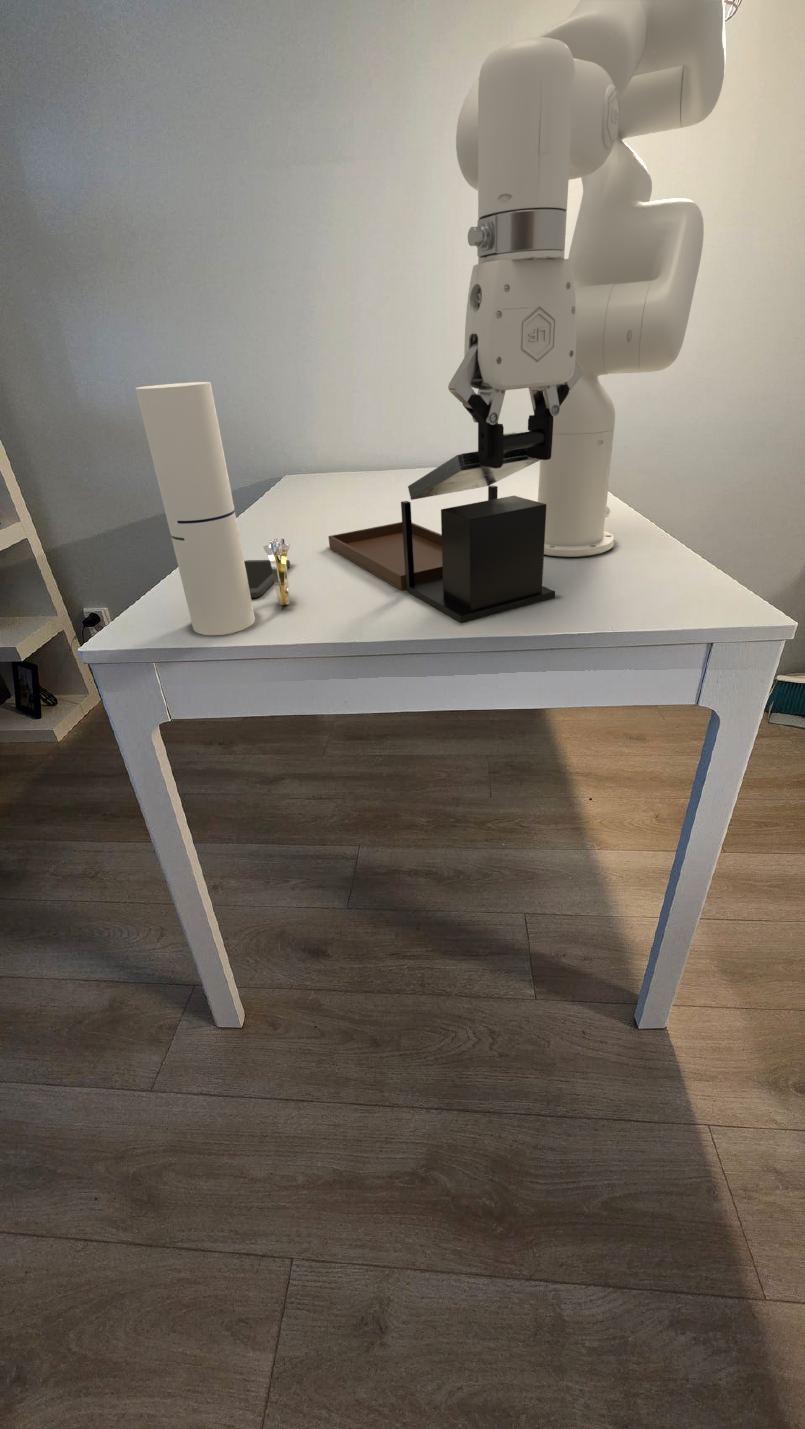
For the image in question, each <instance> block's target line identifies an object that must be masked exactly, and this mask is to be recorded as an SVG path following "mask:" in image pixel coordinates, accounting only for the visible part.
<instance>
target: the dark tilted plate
mask: <svg viewBox="0 0 805 1429" xmlns="http://www.w3.org/2000/svg"><path fill="white" fill-rule="evenodd" d="M544 440H545V434H544V431H543V430H542V429H533V430H528V429H526V430H520V431H513V432H506V433H504V435H503V465H502V467H501V468H496V469H495V468H490V467H486V466H481V465H480V462H479V455H478V450H477V451H470V452H463V453H461V454H456V455H455V456H453V457H452V458H450V459H448V460H446V461H445V462H443V463H442V464H441V465H438V467H436V468H434V469H433V470H431V471H429V472H428V473H427V474H425V475H424V476H422V477H420V478H419V479H417V480H415V481H414V482H413V483H411V484H409V485H407V489H408V494H409V498H410V500H411V501H413V500H420V499H425V498H430V497H435V496H440V495H446V494H447V495H448V494H452V493H457V492H463V491H469V490H474V489H479V488H480V489H481V488H485V487H488V486H492V485H493V484H496V483H498V482H499V481H502V480H503V479H505V478H507V477H510V476H511V475H513V474H515V473H518V472H520V471H521V470H523V469H525V468H527V467H529V466H532V465H534V464H536V463H537V462H540V460H541V459H535V458H530V457H529V456H527V448H529V447H535V446H541V445H542V444H543V443H544Z"/></svg>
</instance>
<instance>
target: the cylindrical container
mask: <svg viewBox="0 0 805 1429" xmlns="http://www.w3.org/2000/svg"><path fill="white" fill-rule="evenodd" d="M135 394H136V397H137V401H138V406H139V409H140V410H139V411H140V414H141V419H142V422H143V426H144V432H145V434H146V439H147V443H148V447H149V451H150V455H151V459H152V463H153V468H154V471H155V477H156V480H157V484H158V488H159V492H160V496H161V502H162V504H163V509H164V514H165V517H166V521H167V526H168V529H169V533H170V538H171V542H172V546H173V551H174V555H175V559H176V562H177V568H178V572H179V576H180V579H181V584H182V588H183V591H184V596H185V600H186V604H187V609H188V613H189V617H190V621H191V625H192V630H193V631H194V632H195V633H197V634H198V635H203V636H224V635H230V634H235V633H238V632H240V631H243V630H246V629H248V628H249V627H251V626H252V625H253V624H255V621H256V617H255V612H254V606H253V601H252V597H251V595H250V590H249V584H248V579H247V573H246V568H245V563H244V561H245V558H244V553H243V547H242V543H241V537H240V531H239V526H238V521H237V515H236V511H235V505H234V500H233V499H234V498H233V494H232V488H231V483H230V478H229V473H228V466H227V461H226V456H225V451H224V446H223V439H222V435H221V430H220V429H221V428H220V424H219V419H218V413H217V409H216V404H215V398H214V393H213V388H212V382H211V381H193V382H192V381H191V382H179V383H178V382H176V383H166V384H155V385H145V386H139V387H135Z"/></svg>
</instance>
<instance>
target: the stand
mask: <svg viewBox="0 0 805 1429" xmlns="http://www.w3.org/2000/svg"><path fill="white" fill-rule="evenodd" d="M498 488H499V486H497V485H493V484H491V485H489V486H487V489H488V490H487V500H484V501H478V502H473V503H467V504H462V505H457V506H452V507H446V508H441V509H440V525H441V526H440V528H441V535H442V566H443V577H441V578H437V579H433V580H428V581H424V582H420V583H416V584H415V579H414V560H413V541H412V523H413V522H412V521H413V520H412V505H411V501H408V500H404V501H400V510H401V522H402V529H403V546H404V563H405V580H406V589H405V591H406V592H408V593H409V594H411V595H413V596H414V597H416V598H418V599H420V600H421V601H422V602H425V603H427V604H428V605H430V606H432V607H433V608H435V609H437V610H439V611H440V612H442V613H443V614H445V615H447V616H449V617H450V618H452V619H454V620H456V621H458V622H459V623H461V624H462V623H466V622H469V621H473V620H477V619H480V618H485V617H488V616H491V615H495V614H498V613H503V612H506V611H511V610H514V609H517V608H521V607H524V606H529V605H532V604H535V603H539V602H543V601H547V600H551V599H554V598H556V590H554V589H551V588H549V587H546V586H544V585H543V579H544V561H545V560H544V558H545V554H544V543H545V524H546V504H544V503H540V502H538V501H536V500H532V499H529V498H524V497H522V496H521V497H520V496H517V495H509V496H505V497H499V498H498V494H499V492H498V490H499V489H498Z"/></svg>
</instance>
